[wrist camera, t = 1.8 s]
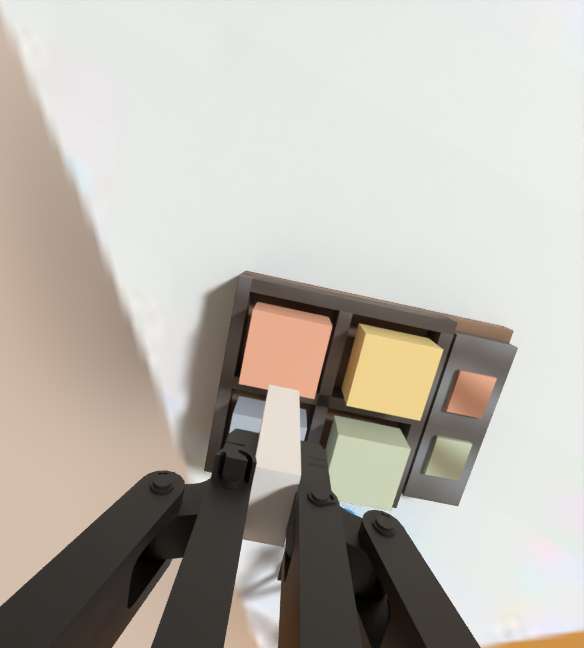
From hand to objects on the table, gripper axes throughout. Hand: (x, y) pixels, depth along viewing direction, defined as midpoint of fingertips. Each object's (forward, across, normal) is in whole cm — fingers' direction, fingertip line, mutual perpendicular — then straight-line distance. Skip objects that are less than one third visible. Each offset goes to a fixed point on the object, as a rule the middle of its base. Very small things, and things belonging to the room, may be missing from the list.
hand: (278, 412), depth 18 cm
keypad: (+15, +7, -4) cm, 17 cm away
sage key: (+11, +8, -8) cm, 16 cm away
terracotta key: (+11, 0, 0) cm, 11 cm away
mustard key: (+11, +8, 0) cm, 14 cm away
